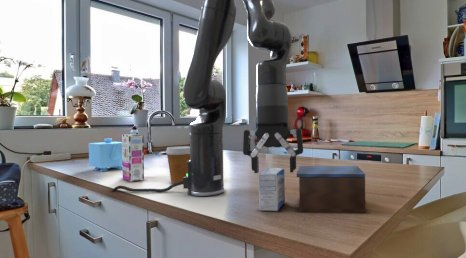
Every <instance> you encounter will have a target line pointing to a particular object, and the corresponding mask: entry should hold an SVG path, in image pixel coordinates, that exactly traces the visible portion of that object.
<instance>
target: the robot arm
mask: <svg viewBox="0 0 466 258" xmlns="http://www.w3.org/2000/svg"><path fill="white" fill-rule="evenodd" d="M242 2H243V5H244V8H245V11H246V19H247V20H246V21H247V23H246V24H247V30H246V32H247V33H246V34H247V40H248V41H249V43H250V45H251V46H252V47H253V48H255V49H256V50H261V51H266V52H270V58H269V59H264V60H260V61H259V62H258V63H257V64H256V92H255V93H256V94H255V99H256V100H255V106H256V108H255V109H256V129H255V130H251V129H244V131H243V143H242V154H243V155H244V156H248V157H250V160H251V171H253V173H254V174H259V172H260V165H259V163H260V160H259V156H258V154H259V153H260V152H261V150H262V149H263V148H272V147H273V148H280V147H283V148H284V149H285V151H286V152H287V153H288V154H289V155H290V156H289V173H294V171H295V170H296V169H297V157H298V155H301V154H303V153H304V142H303V132H302V131H303V130H302V128H299V127H298V128H295V129H294V128H293V129H290V126H289V95H288V90H287V73H286V72H287V65H288V61H289V56H290V52H291V49H292V44H293V35H292V32H291V29H290V27H289V25H287V24H286V23H284V22H280V21H276V20H272V18H273V17H274V15H275V13H276V7H275V3H274V0H242ZM236 3H237V2H236V0H203V1H202V4H201V9H200V15H199V20H198V26H197V27H198V28H197V32H196V37H195V42H194V46H193V51H192V54H191V55H192V56H191V59H190V63H189V65H188V69H187V72H186V75H185V79H184V82H183V87H182V99H183V102H184V104H185V105H186V107H188V108H189V109H191V110H198V117H197V118H196V120H195V121H193V122H191V123H190V124H189V146H190V160H189V161H188V162H187V172H188V174H187V176H186V177H184V178H183V181H180V182H177V183H171V184H170V185H169V186H168V187H166V188H132V187H129V186H126V185H117V186H115V187H114V188H112V190H111V192H113V193H114V192H116V191H117V190H120V189H122V190H125V191H128V192H131V193H165V192H168V191H171V190H172V189H173V188H175V187H178V186H181V185H182V186H183V187H182V189H183V190H187V195H189V196H196V197H210V196H216V195H220V194H223V193H224V191H225V187H224V186H225V184H224V182H225V181H224V135H223V132H224V131H223V129H224V126H225V124H226V113H227V112H226V109H227V95H226V89H225V87H224V85H223V84H222V82H221V81H219V80H217V79H214V78H212V77H213V71H214V66H215V64H216V61H217V59H218V57H219V56H220V54H221V52H222V51H223V50H224V49H225V47H226V46H227V44H228V43H229V41H230V39H231V37H232V35H233V31H234V29H235V28H234V27H235V24H236V23H235V22H236V17H237V4H236ZM291 135H292V136H293V138H294V139H296V145H297V147H296V148H297V149H296V148H295V149H294V148H293V146H292V145H291V143H290V142H289V141H288V139H289V137H290V136H291ZM254 136H255V137H256V138H257V139H258V140H259V141H258V142H257V144H256V146H255V147H254V149H253V150H252V149H251V140H252V139H253V138H254Z"/></svg>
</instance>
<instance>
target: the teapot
mask: <svg viewBox="0 0 466 258" xmlns="http://www.w3.org/2000/svg"><path fill="white" fill-rule="evenodd" d="M103 141H104V142H103ZM103 141H102V142H101V141H100V142H88V166H90V167H93V168H94V169H93V170H94V171H99V172H108V168H110V169H116V170H122V141H113V138H111V137H110V138H104V140H103Z"/></svg>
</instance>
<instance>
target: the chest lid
mask: <svg viewBox="0 0 466 258" xmlns="http://www.w3.org/2000/svg"><path fill="white" fill-rule="evenodd" d="M299 177H365V178H366V173H365V172H364V171H363V170H362V169H361V168H360V167H359V166H358V165H299V166H298V169H297V172H296V178H299Z"/></svg>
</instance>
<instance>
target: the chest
mask: <svg viewBox="0 0 466 258" xmlns="http://www.w3.org/2000/svg"><path fill="white" fill-rule="evenodd" d="M298 178H299V179H298V182H299V183H298V189H299V193H298V195H299V198H298V199H299V213H346V214H347V213H351V214H352V213H354V214H357V213H358V214H361V213H362V214H366V176H365V177H298Z"/></svg>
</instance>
